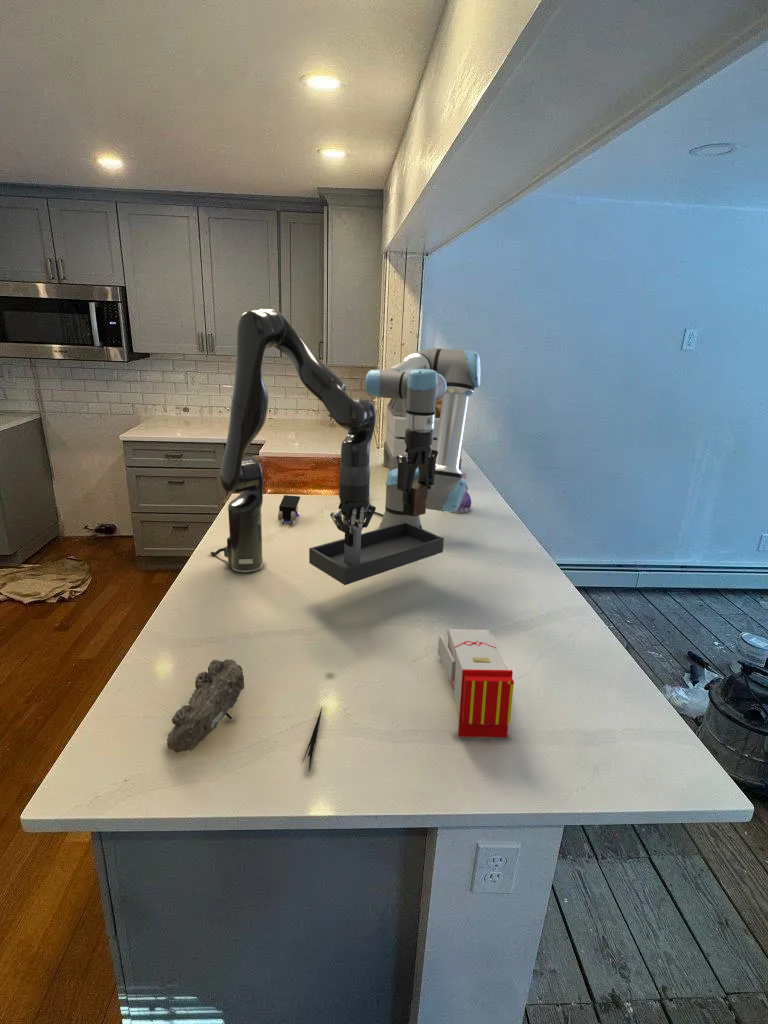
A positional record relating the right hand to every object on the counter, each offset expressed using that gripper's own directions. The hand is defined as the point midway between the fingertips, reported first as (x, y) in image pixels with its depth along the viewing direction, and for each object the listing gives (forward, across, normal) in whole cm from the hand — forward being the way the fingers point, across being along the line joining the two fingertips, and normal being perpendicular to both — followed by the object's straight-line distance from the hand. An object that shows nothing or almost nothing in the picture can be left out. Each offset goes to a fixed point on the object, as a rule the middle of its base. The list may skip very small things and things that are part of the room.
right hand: (414, 512), depth 158 cm
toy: (+21, -25, -44) cm, 55 cm away
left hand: (+5, -21, 0) cm, 22 cm away
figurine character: (+22, -2, +62) cm, 66 cm away
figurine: (+22, +60, +34) cm, 72 cm away
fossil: (+21, -70, -19) cm, 75 cm away
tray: (+11, -12, 0) cm, 16 cm away
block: (0, 0, 0) cm, 0 cm away
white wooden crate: (+22, +84, +82) cm, 119 cm away
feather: (+21, -54, -32) cm, 67 cm away
